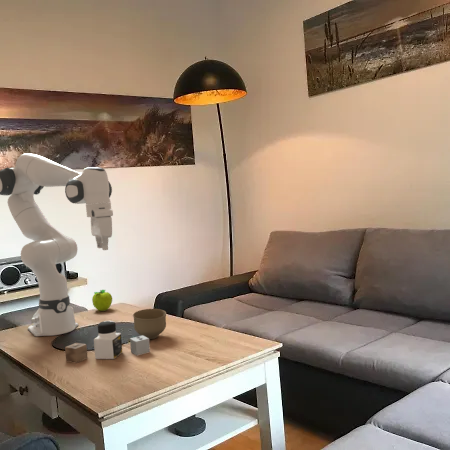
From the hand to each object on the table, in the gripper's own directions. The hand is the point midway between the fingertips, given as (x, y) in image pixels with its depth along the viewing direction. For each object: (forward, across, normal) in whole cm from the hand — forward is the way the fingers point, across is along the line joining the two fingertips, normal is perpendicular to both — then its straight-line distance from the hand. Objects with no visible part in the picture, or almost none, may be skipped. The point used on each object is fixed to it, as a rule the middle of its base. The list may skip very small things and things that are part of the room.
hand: (102, 249), depth 181 cm
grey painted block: (+37, +13, +7) cm, 40 cm away
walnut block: (+36, +8, -14) cm, 40 cm away
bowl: (+37, 0, +15) cm, 40 cm away
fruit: (+35, -57, +8) cm, 67 cm away
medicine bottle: (+37, +11, -3) cm, 38 cm away
